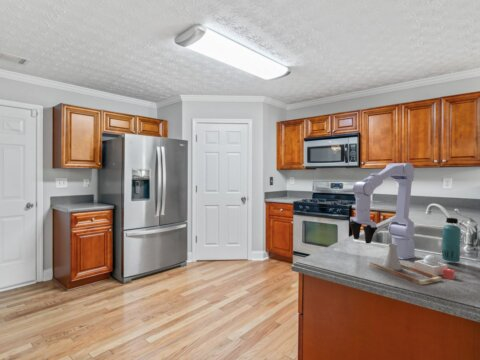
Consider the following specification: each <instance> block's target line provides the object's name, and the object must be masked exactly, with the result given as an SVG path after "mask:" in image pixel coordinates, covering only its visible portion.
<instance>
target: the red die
mask: <svg viewBox="0 0 480 360" xmlns="http://www.w3.org/2000/svg"><path fill="white" fill-rule="evenodd" d="M455 272H456V269H452V268H449V267H448V268H445V269H443V275H442V279H448V280H451V281H452V280H454V279H455V278H456V277H455V275H456V273H455Z"/></svg>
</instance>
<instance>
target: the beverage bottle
mask: <svg viewBox="0 0 480 360" xmlns="http://www.w3.org/2000/svg"><path fill="white" fill-rule="evenodd" d="M445 223H448V224H446V225H444V226H443V227H442V228H443V229H442V251H441V256H442V257H441V259H442V260H444V261H445V262H452V263H458V262H460V260H461V227H459V226H457V225H455V224H459V221H458V218H456V217H446V221H445ZM453 224H454V225H453Z"/></svg>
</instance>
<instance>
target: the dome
mask: <svg viewBox="0 0 480 360" xmlns="http://www.w3.org/2000/svg"><path fill="white" fill-rule="evenodd" d="M422 260H423V263H424V264H428V265H431V266H437V265H438V262H439V260H438V258H437V257H436V256H434V255H433V254H427V255H425V256H424V257H423V259H422Z"/></svg>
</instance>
